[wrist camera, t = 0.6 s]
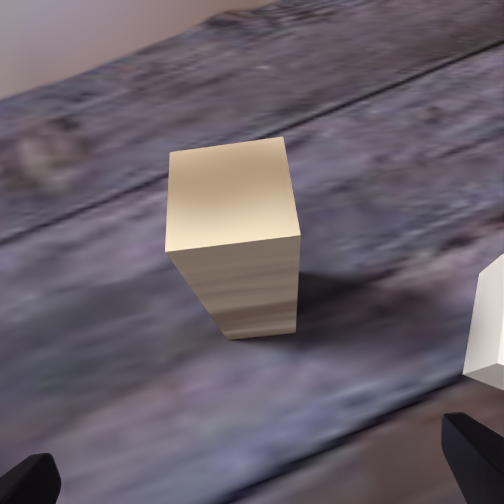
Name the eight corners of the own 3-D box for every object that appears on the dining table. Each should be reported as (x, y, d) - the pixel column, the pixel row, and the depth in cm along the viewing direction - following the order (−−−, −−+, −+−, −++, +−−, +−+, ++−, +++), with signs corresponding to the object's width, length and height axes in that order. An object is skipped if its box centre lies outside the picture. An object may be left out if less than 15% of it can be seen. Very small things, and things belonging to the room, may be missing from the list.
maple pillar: (295, 332, 22) (300, 235, 11) (227, 340, 22) (165, 251, 11) (286, 270, 24) (283, 136, 13) (224, 278, 24) (170, 152, 13)
